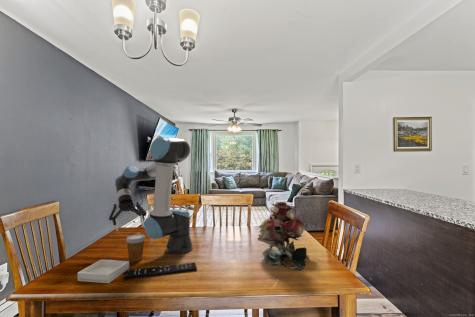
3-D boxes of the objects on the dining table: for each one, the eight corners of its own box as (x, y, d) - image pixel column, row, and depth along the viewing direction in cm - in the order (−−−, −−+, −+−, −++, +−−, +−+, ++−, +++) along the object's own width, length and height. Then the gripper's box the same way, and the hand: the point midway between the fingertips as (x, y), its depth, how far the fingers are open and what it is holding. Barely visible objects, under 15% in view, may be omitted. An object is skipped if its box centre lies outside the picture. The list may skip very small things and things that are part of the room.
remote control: (125, 273, 116) (125, 269, 116) (194, 265, 125) (194, 261, 125) (123, 281, 108) (123, 276, 108) (196, 271, 117) (196, 267, 117)
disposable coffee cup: (149, 257, 134) (149, 235, 134) (136, 264, 125) (136, 240, 125) (134, 255, 137) (134, 233, 137) (121, 261, 128) (121, 238, 128)
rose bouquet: (306, 250, 144) (306, 198, 144) (306, 272, 115) (306, 207, 116) (262, 246, 150) (262, 197, 151) (252, 266, 122) (252, 205, 123)
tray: (129, 268, 120) (129, 261, 120) (108, 283, 105) (108, 274, 106) (101, 266, 122) (101, 259, 122) (77, 280, 108) (77, 272, 108)
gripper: (144, 199, 161) (151, 227, 149) (101, 203, 147) (105, 235, 134) (147, 192, 157) (154, 220, 145) (102, 195, 143) (106, 227, 130)
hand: (130, 227), depth 140 cm, fingers open, 13 cm apart
